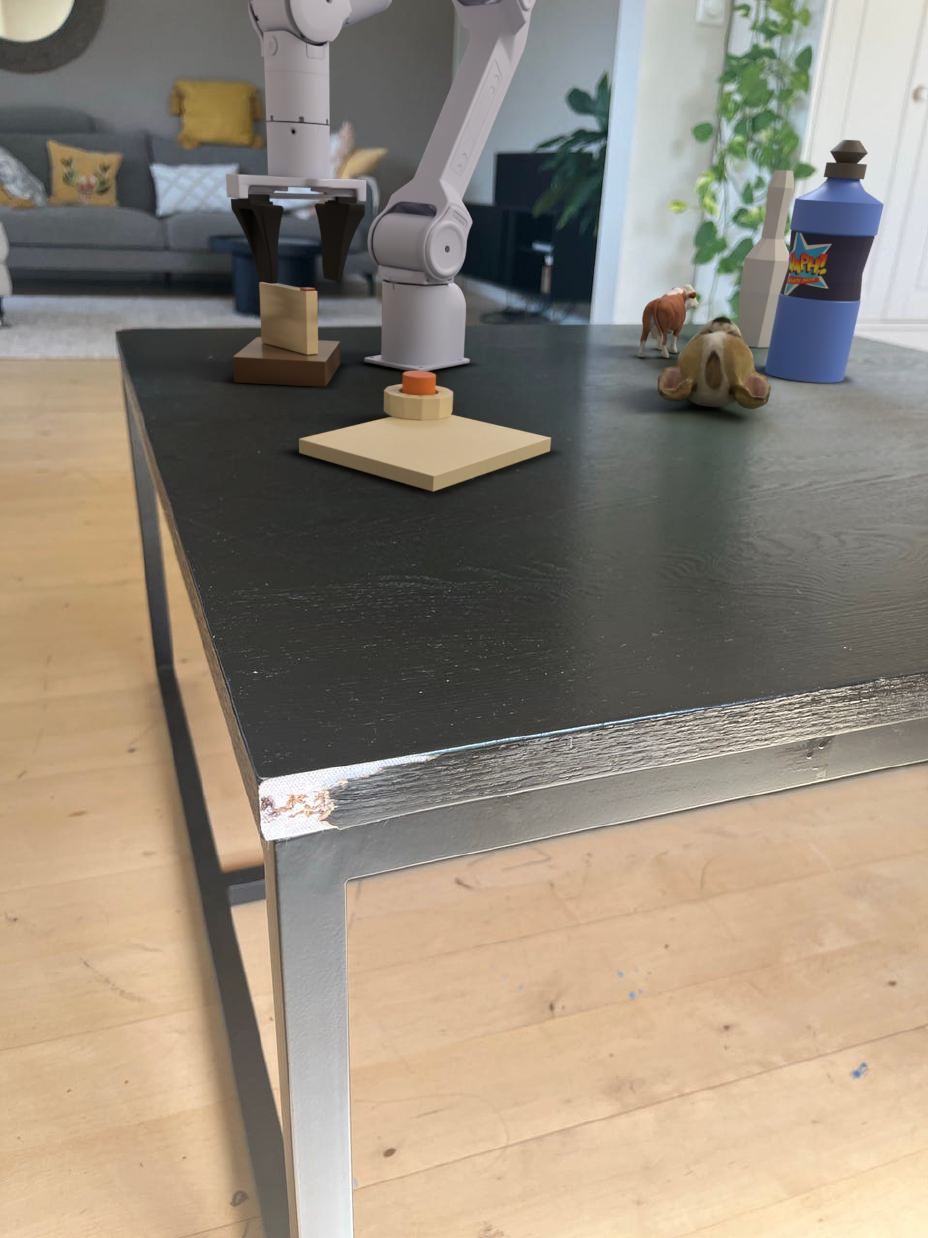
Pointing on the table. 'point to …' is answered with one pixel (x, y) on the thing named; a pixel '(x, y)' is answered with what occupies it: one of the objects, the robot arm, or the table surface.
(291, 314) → the light wood flat panel
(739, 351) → the ceramic sculpture
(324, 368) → the stand
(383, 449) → the beige button base
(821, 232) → the water bottle
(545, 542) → the table surface
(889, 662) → the table surface
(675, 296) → the bull figurine
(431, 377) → the button
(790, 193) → the low poly bottle
